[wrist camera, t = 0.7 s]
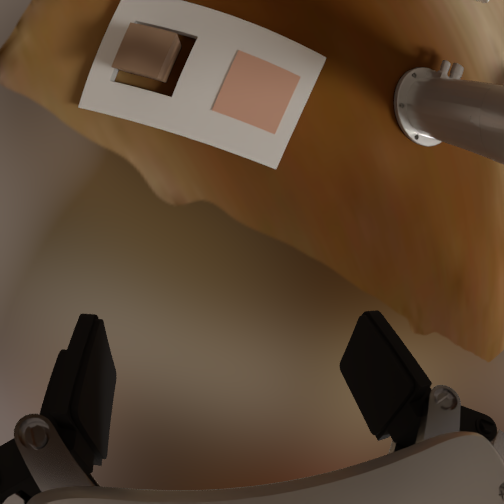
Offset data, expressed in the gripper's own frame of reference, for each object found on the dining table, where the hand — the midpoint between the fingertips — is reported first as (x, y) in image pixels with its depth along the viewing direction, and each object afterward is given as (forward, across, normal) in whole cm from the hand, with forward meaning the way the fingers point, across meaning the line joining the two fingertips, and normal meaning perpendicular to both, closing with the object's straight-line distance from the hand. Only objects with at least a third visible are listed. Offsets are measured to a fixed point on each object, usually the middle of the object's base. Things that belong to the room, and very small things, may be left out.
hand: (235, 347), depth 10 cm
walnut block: (+31, +7, -13) cm, 35 cm away
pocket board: (+31, +2, -12) cm, 33 cm away
